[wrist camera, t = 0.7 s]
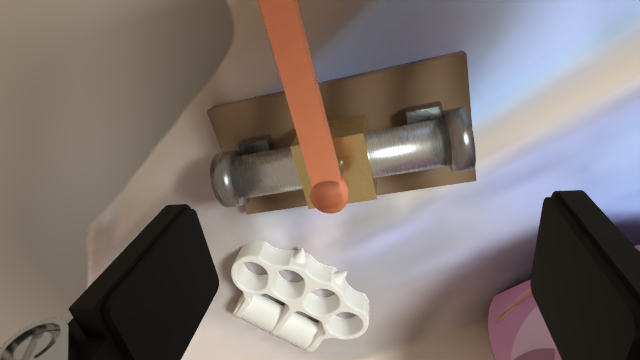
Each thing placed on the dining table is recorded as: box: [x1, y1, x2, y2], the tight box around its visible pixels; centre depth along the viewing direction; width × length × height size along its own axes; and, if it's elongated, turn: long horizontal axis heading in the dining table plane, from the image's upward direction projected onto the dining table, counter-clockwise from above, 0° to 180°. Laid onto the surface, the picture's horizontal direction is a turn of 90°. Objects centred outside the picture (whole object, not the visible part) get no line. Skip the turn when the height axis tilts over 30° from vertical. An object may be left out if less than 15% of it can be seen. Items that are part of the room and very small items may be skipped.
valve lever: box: [258, 0, 349, 213], centre depth 26 cm, size 3×15×1 cm, turn 14°
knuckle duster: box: [231, 241, 369, 352], centre depth 47 cm, size 3×18×15 cm
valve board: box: [207, 51, 476, 214], centre depth 37 cm, size 24×12×2 cm, turn 104°
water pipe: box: [210, 101, 476, 209], centre depth 33 cm, size 22×6×8 cm, turn 104°
